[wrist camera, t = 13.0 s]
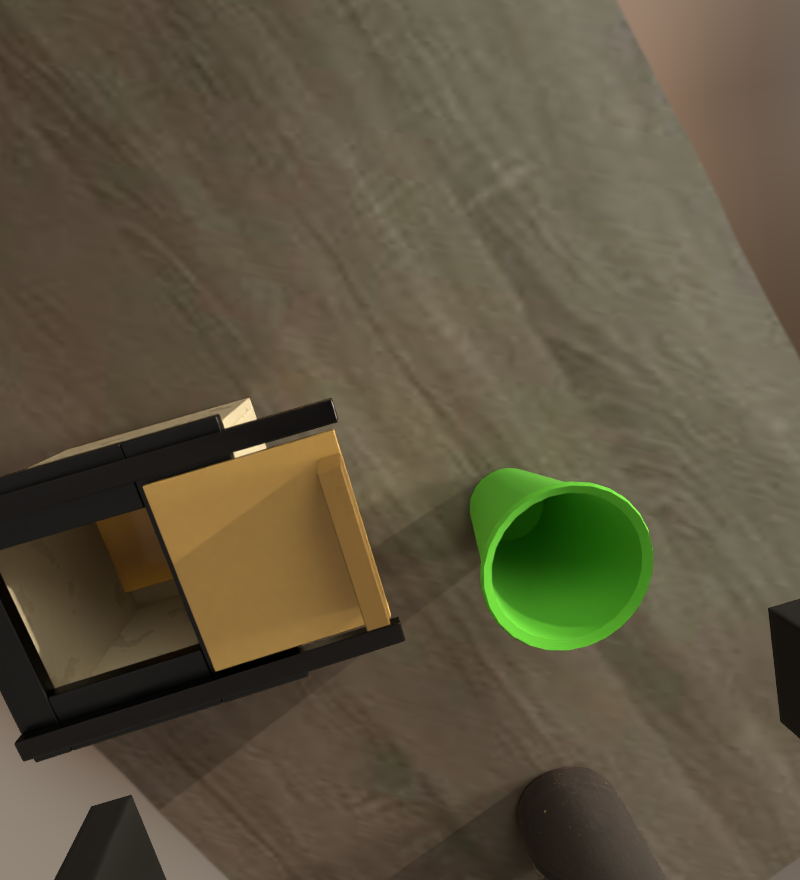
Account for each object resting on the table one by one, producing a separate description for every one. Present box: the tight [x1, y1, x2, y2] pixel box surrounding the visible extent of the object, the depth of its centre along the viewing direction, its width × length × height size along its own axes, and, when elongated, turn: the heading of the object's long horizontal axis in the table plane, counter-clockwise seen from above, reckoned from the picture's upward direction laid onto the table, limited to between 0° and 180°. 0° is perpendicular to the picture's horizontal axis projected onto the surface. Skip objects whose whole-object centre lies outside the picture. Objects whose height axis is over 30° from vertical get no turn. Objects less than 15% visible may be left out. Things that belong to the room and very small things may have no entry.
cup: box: [470, 468, 653, 650], centre depth 34 cm, size 9×9×11 cm
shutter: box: [143, 429, 391, 671], centre depth 24 cm, size 9×8×3 cm
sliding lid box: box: [0, 398, 405, 762], centre depth 31 cm, size 13×18×13 cm
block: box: [96, 507, 173, 593], centre depth 34 cm, size 4×4×4 cm
